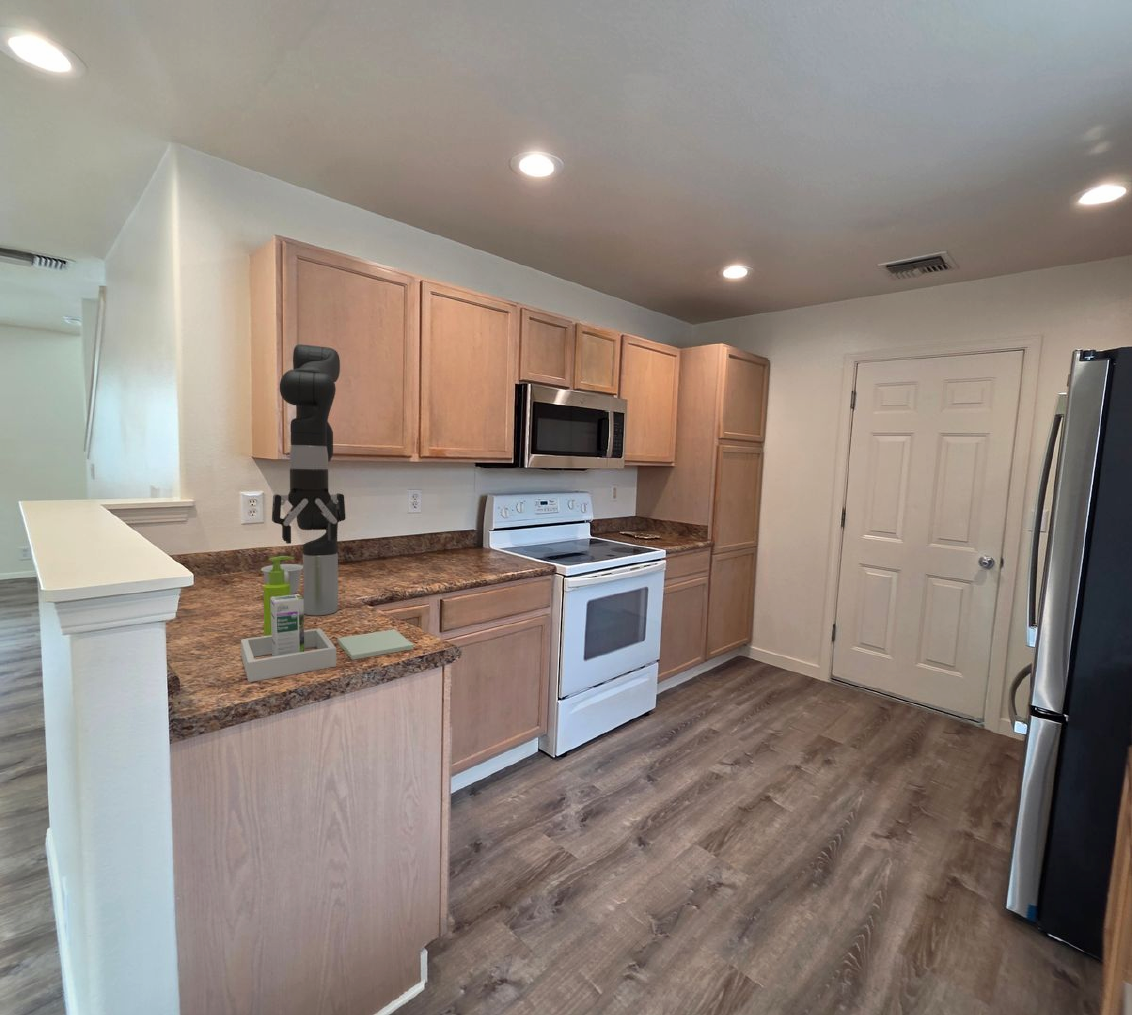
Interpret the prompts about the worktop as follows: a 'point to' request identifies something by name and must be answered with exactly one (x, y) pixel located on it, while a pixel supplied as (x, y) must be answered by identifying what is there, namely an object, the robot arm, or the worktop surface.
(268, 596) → the soap dispenser
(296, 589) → the teacup
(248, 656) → the gray square frame
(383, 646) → the board
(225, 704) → the worktop surface
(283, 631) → the syrup box
